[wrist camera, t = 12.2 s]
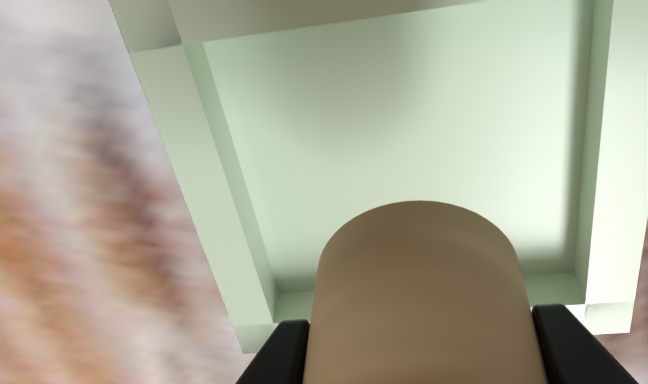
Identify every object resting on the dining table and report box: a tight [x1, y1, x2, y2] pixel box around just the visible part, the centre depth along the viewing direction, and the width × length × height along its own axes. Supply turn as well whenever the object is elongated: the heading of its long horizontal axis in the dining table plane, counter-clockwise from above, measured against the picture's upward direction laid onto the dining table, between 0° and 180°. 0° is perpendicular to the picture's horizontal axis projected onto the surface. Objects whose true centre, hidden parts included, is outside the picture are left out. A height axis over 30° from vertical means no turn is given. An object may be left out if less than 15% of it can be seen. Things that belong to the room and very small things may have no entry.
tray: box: [109, 0, 648, 353], centre depth 13 cm, size 9×9×2 cm
